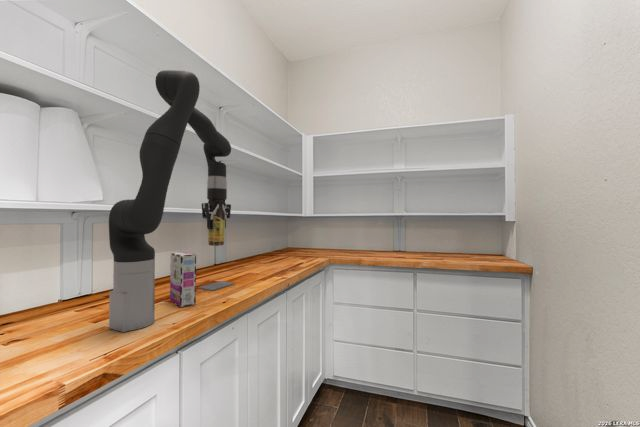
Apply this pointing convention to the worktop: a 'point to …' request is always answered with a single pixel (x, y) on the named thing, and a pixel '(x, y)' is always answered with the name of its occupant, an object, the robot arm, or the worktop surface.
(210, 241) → the sauce bottle
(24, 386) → the worktop surface
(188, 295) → the candy bar box
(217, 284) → the rubber mat
